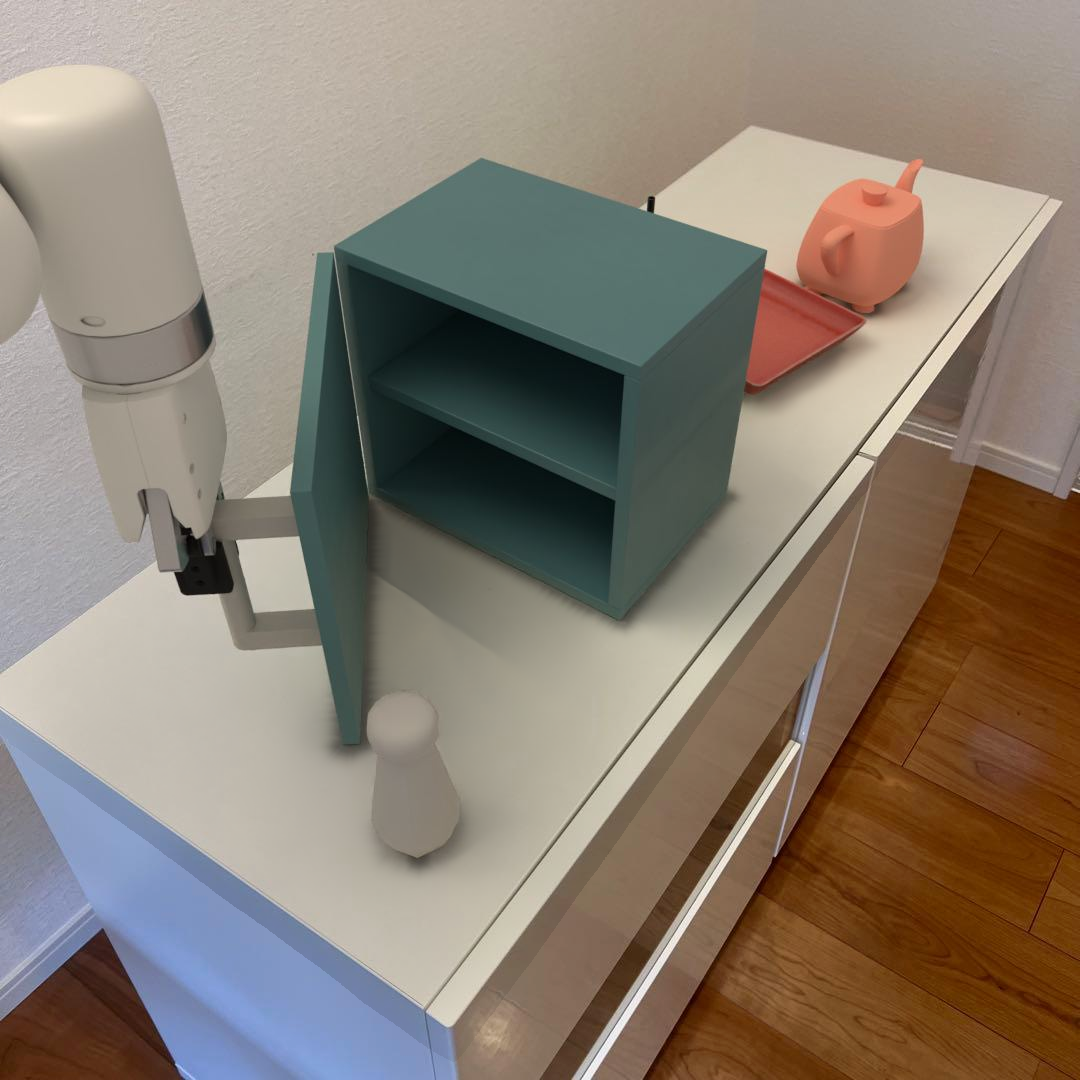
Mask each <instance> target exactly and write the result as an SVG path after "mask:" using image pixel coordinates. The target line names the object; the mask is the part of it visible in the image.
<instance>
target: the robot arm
mask: <svg viewBox="0 0 1080 1080" xmlns="http://www.w3.org/2000/svg"><path fill="white" fill-rule="evenodd" d="M181 197H182V196H181V193H180V189H179V185H178V181H177V177H176V173H175V169H174V164H173V161H172V156H171V152H170V148H169V143H168V141H167V136H166V131H165V127H164V123H163V120H162V117H161V115H160V109H159V107H158V104H157V103H156V100H155V99H154V97H153V95H152V93H151V91H150V90H149V89H148V88H147V86H145V84H143V83H142V82H141V81H140V80H139V79H138V78H137V77H136V76H133V75H131V74H129V73H128V72H126V71H124V70H121V69H119V68H115V67H110V66H106V65H98V64H97V65H96V64H64V65H56V66H50V67H45V68H40V69H36V70H33V71H29V72H26V73H24V74H21V75H17V76H16V77H14V78H11V79H10V80H7V81H5V82H3V83H1V84H0V346H1V345H3V344H4V343H6V342H7V341H8V340H10V339H11V338H12V337H13V336H15V335H16V334H17V333H19V332H20V330H21V329H22V328H23V327H24V325H25V324H26V323H27V322H28V321H29V320H30V319H31V317H32V315H33V313H34V311H35V309H36V307H37V305H38V303H39V299H40V297H41V300H42V303H43V305H44V308H45V310H46V313H47V315H48V319H49V322H50V325H51V327H52V330H53V332H54V335H55V337H56V341H57V343H58V347H59V349H60V351H61V354H62V357H63V359H64V362H65V365H66V368H67V371H68V373H69V375H70V376H71V377H72V378H73V380H74V381H76V382H77V383H78V384H80V385H81V386H82V388H81V397H82V404H83V412H84V416H85V423H86V426H87V427H86V428H87V432H88V437H89V441H90V445H91V449H92V452H93V457H94V460H95V464H96V468H97V470H98V474H99V478H100V481H101V484H102V488H103V491H104V494H105V497H106V501H107V503H108V507H109V510H110V513H111V517H112V519H113V522H114V525H115V528H116V531H117V533H118V535H119V538H121V539H122V540H123V542H125V543H128V544H131V543H140V542H141V539H142V534H143V531H144V526H145V523H146V520H147V519H146V518H147V516H148V518H149V524H150V530H151V535H152V541H153V547H154V548H153V549H154V552H155V558H156V564H157V569H158V571H159V573H162V574H163V573H173V574H174V577H175V580H176V583H177V586H178V588H179V591H180V594H181V595H184V596H206V595H219V594H226V593H231V592H232V591H233V587H234V582H233V578H232V575H231V571H230V568H229V564H228V561H227V557H226V554H225V550H224V547H223V543H222V542H218V541H216V540H215V536H214V533H213V530H212V526H211V520H212V516H213V512H214V507H215V503H216V500H225V499H226V497H225V493H224V489H223V486H222V485H223V484H222V481H221V479H222V473H223V469H224V463H225V457H226V450H227V442H228V431H227V424H226V417H225V412H224V408H223V404H222V400H221V395H220V393H219V388H218V384H217V381H216V377H215V375H214V371H213V368H212V364H211V361H210V359H211V358H212V356H213V355H214V353H215V351H216V350H215V349H216V345H217V339H216V334H215V330H214V325H213V322H212V318H211V314H210V309H209V306H208V305H209V304H208V301H207V298H206V294H205V289H204V286H203V282H202V277H201V273H200V270H199V269H200V268H199V266H198V265H199V264H198V261H197V258H196V254H195V253H196V252H195V249H194V245H193V241H192V237H191V234H190V230H189V225H188V222H187V221H188V220H187V217H186V213H185V209H184V205H183V202H182V201H183V200H182V198H181ZM234 541H235V545H236V548H237V552H238V556H239V557H240V549H239V547H238V543H237V540H234Z"/></svg>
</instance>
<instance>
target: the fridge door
mask: <svg viewBox="0 0 1080 1080" xmlns="http://www.w3.org/2000/svg"><path fill="white" fill-rule="evenodd" d="M309 313H310V314H309V321H308V330H307V338H306V347H305V357H304V365H303V374H302V382H301V390H300V398H299V400H300V401H299V407H298V417H297V427H296V436H295V444H294V453H293V460H292V461H293V462H292V472H291V478H290V480H291V481H290V487H289V495H281V496H280V495H279V496H266V497H265V496H263V497H262V496H261V497H244V498H228V499H227V498H225V500H216V503H215V507H214V512H213V516H212V520H211V526H212V530H213V533H214V536H215V540H216V541H218V542H222V543H223V547H224V550H225V554H226V557H227V561H228V564H229V568H230V571H231V575H232V578H233V582H234V587H233V591H232V592H231V593H226V594H218V596H219V600H220V603H221V607H222V609H223V613H224V618H225V620H226V624H227V627H228V630H229V633H230V637H231V640H232V644H233V646H234V647H235V648H236V649H237V650H240V651H258V650H274V649H291V648H304V647H318V646H319V647H320V646H322V651H323V656H324V661H325V666H326V670H327V675H328V679H329V684H330V688H331V694H332V698H333V703H334V708H335V712H336V718H337V723H338V726H339V727H338V728H339V732H340V736H341V741H342V745H357V744H358V745H359V744H361V729H362V728H361V725H362V700H363V699H362V698H363V671H364V669H363V668H364V644H365V643H364V639H365V615H366V614H365V612H366V589H367V588H366V585H367V584H366V583H367V582H366V581H367V557H368V556H367V555H368V532H369V531H368V530H369V529H368V527H369V502H370V501H369V500H370V496H369V491H368V482H367V476H366V469H365V462H364V455H363V448H362V441H361V434H360V427H359V420H358V413H357V406H356V399H355V392H354V385H353V378H352V371H351V364H350V357H349V350H348V343H347V336H346V329H345V322H344V315H343V308H342V301H341V294H340V287H339V280H338V273H337V266H336V259H335V252H334V251H329V252H316V260H315V270H314V276H313V286H312V295H311V303H310V312H309ZM293 537H299V542H300V547H301V552H302V556H303V557H302V558H303V561H304V566H305V570H306V575H307V580H308V584H309V589H310V590H309V591H310V595H311V600H312V603H313V608H309V609H308V608H307V609H292V610H277V611H261V612H259V611H258V612H254V608H253V604H252V601H251V597H250V592H249V590H248V589H249V588H248V586H247V582H246V579H245V575H244V571H243V568H242V563H241V560H240V555H239V556H238V552H237V548H236V545H235V541H234V540H236V541H242V540H243V541H244V540H245V541H246V540H259V539H260V540H261V539H275V538H293Z"/></svg>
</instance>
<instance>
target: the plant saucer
mask: <svg viewBox="0 0 1080 1080" xmlns="http://www.w3.org/2000/svg"><path fill="white" fill-rule="evenodd" d="M866 324H867V318H866V317H864V316H862V315H860V314H859V313H857V312H855V311H852V310H851V309H849V308H847V307H844V306H843V305H840V304H838V303H836V302H835V301H833V300H831V299H828V298H827V297H826V298H825V297H824V296H822V295H821V294H816V293H813V292H812V291H810V290H807V289H806V288H805V286H801V285H799V284H798V283H796V282H794V281H792V280H789V279H787V278H785V277H783V276H781V275H779V274H777V273H775V272H772V271H771V270H768V269H767V268H765V269H764V275H763V281H762V287H761V293H760V299H759V305H758V311H757V317H756V323H755V329H754V335H753V341H752V346H751V352H750V358H749V364H748V370H747V376H746V382H745V388H744V394H747V395H751V396H753V395H756V394H759V393H760V392H762V391H763V390H765V389H767V388H769V387H770V386H772V385H773V384H775V383H777V382H778V381H780V380H781V379H784V378H785V377H786V376H789V375H790V374H792V373H793V372H795V371H797V370H798V369H800V368H801V367H803V366H804V365H806V364H808V363H809V362H812V361H813V360H815V359H816V358H818V357H819V356H821V355H823V354H824V353H826V352H828V351H829V350H831V349H833V348H834V347H836V346H837V345H839V344H841V343H842V342H844V341H845V340H847V339H848V338H850V337H852V335H854V334H855V333H857V332H858V331H859V330H861V328H862V327H864V326H865V325H866Z"/></svg>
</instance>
